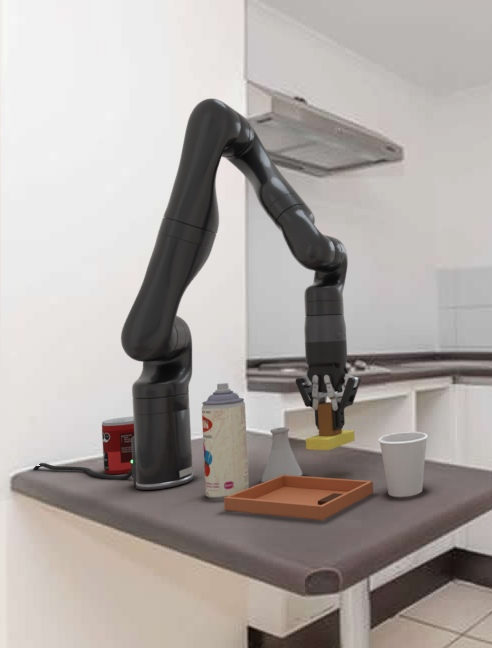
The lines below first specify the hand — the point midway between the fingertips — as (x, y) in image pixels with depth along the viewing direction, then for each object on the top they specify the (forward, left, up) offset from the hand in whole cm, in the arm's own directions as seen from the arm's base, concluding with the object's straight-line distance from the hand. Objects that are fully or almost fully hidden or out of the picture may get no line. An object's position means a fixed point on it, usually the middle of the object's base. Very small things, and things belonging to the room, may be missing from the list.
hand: (330, 428), depth 106 cm
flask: (-10, -2, -10) cm, 14 cm away
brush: (0, 0, -3) cm, 3 cm away
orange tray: (+4, -13, -10) cm, 17 cm away
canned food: (-51, -3, -10) cm, 52 cm away
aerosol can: (-13, -12, -10) cm, 20 cm away
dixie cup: (+19, -5, -10) cm, 22 cm away
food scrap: (+11, -13, -9) cm, 19 cm away
